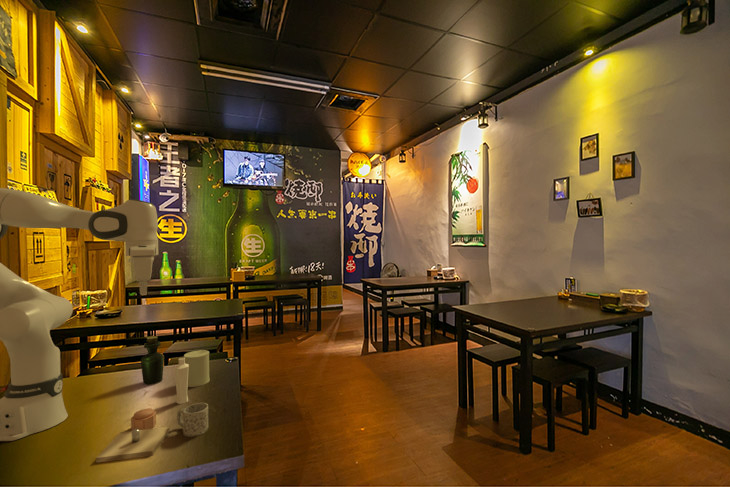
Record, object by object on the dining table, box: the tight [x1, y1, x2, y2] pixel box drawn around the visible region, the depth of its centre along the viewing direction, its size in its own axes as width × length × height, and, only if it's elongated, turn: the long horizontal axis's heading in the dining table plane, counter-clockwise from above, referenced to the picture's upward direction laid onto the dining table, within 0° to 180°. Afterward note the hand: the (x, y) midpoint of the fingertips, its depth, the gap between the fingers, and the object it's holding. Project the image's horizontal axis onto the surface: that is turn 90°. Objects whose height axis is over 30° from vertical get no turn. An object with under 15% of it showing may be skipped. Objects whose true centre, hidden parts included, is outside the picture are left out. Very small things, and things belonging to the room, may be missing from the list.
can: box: [183, 349, 211, 388], centre depth 136 cm, size 9×9×12 cm
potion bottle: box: [140, 335, 165, 386], centre depth 137 cm, size 8×8×18 cm
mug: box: [176, 402, 209, 438], centre depth 100 cm, size 10×7×7 cm, turn 73°
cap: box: [130, 408, 157, 431], centre depth 102 cm, size 6×6×4 cm
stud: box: [132, 428, 140, 443], centre depth 93 cm, size 2×2×3 cm
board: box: [95, 426, 171, 464], centre depth 93 cm, size 13×12×1 cm
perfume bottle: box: [173, 357, 189, 405], centre depth 119 cm, size 5×4×15 cm
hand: (143, 293), depth 109 cm, fingers open, 8 cm apart
